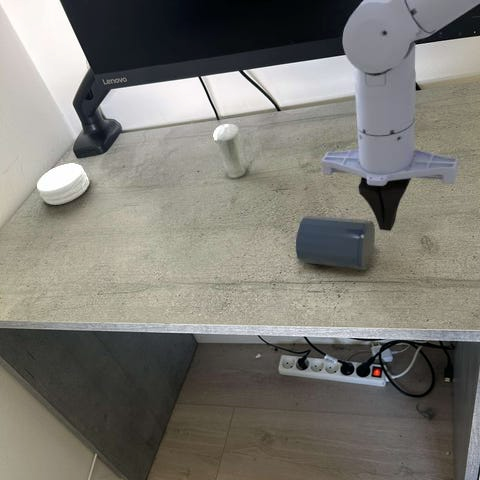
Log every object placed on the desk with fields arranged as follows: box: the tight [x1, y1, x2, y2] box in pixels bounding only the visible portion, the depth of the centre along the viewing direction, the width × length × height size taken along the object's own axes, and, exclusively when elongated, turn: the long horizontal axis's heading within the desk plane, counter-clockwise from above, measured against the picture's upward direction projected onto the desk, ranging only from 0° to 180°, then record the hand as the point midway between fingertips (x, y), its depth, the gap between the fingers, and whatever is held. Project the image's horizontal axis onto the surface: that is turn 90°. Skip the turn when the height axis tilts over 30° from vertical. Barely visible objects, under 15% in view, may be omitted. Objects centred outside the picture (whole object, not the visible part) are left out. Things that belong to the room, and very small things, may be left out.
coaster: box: [36, 163, 90, 206], centre depth 100 cm, size 10×10×4 cm
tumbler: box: [295, 215, 376, 271], centre depth 66 cm, size 6×6×9 cm
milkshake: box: [213, 120, 246, 179], centre depth 86 cm, size 5×5×10 cm
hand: (387, 225), depth 60 cm, fingers closed
